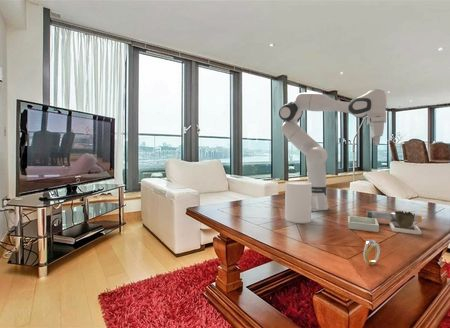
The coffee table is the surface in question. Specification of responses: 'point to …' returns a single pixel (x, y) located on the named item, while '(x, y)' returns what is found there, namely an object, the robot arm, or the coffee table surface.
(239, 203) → the coffee table surface
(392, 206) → the coffee table surface
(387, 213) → the crank
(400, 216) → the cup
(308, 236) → the coffee table surface
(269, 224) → the coffee table surface
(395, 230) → the tray
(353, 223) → the tray
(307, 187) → the canister
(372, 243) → the ring
